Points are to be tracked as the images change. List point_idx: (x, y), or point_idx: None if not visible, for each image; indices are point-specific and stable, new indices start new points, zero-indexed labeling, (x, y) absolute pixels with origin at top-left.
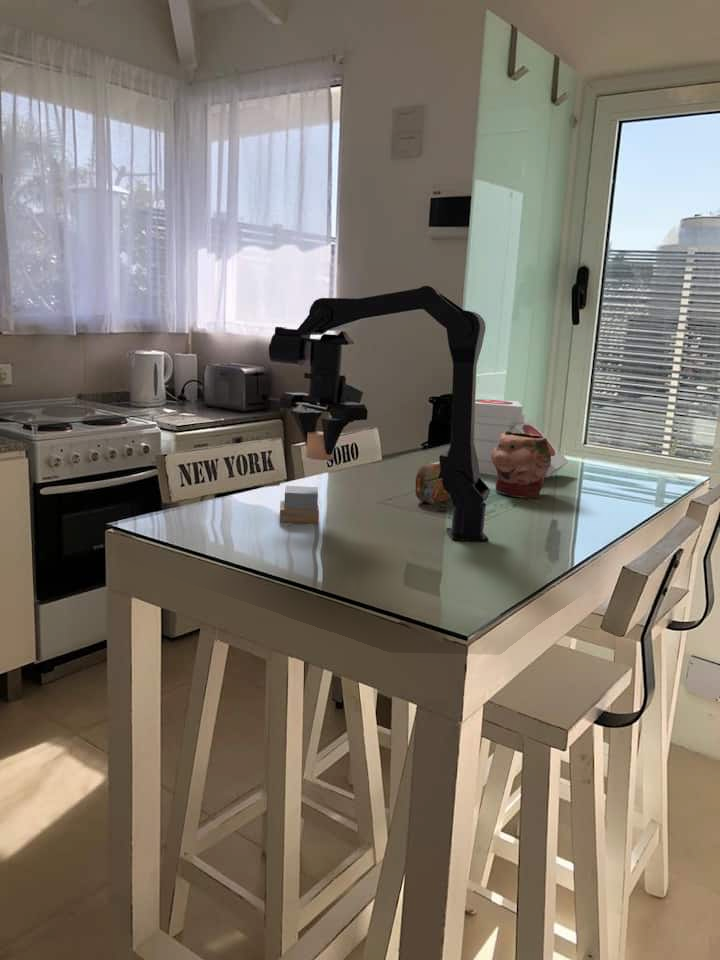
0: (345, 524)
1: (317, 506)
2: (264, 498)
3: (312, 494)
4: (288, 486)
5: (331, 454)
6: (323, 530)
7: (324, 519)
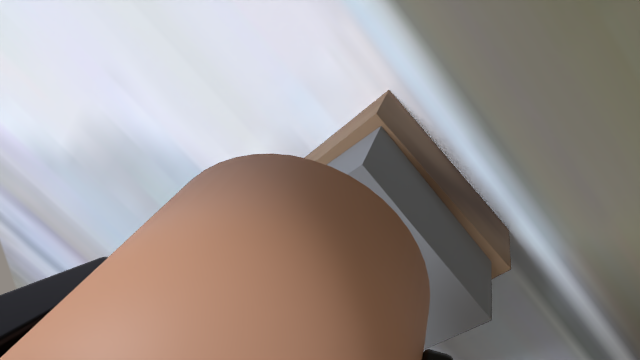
0: (620, 131)
1: (439, 192)
2: (6, 13)
3: (463, 331)
4: None
5: (423, 314)
6: (584, 288)
7: (469, 127)
